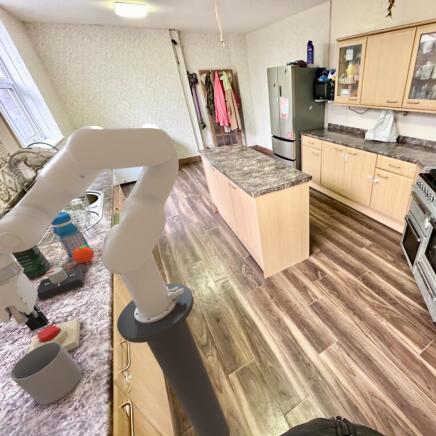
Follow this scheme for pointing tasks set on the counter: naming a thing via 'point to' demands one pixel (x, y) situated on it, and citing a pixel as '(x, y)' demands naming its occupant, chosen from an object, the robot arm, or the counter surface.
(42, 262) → the coffee jar
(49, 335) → the power button
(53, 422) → the counter surface
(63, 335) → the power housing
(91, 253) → the tomato
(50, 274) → the timer knob
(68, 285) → the fryer panel
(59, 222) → the beverage bottle
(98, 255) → the counter surface
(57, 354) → the cup
